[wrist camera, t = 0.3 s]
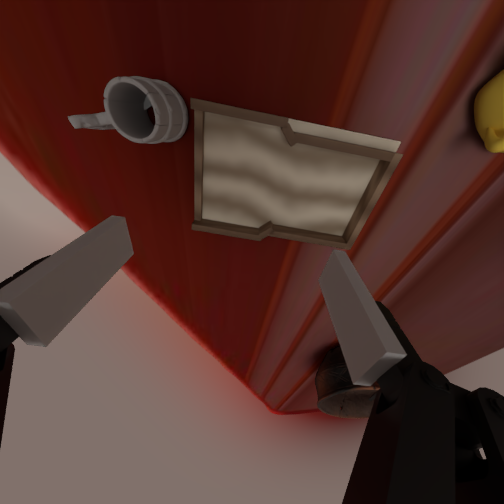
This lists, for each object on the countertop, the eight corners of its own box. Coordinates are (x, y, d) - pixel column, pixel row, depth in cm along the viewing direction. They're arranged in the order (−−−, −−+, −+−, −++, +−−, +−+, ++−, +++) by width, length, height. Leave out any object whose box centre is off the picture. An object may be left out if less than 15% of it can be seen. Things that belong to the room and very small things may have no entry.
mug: (197, 136, 32) (168, 145, 23) (132, 148, 34) (79, 162, 24) (180, 75, 28) (136, 54, 18) (107, 93, 30) (30, 81, 20)
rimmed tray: (198, 99, 30) (190, 97, 26) (397, 141, 31) (413, 144, 28) (197, 220, 41) (191, 229, 38) (342, 245, 43) (349, 256, 40)
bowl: (315, 374, 78) (325, 423, 66) (301, 341, 65) (310, 394, 53) (383, 366, 72) (408, 419, 60) (383, 328, 59) (414, 385, 47)
